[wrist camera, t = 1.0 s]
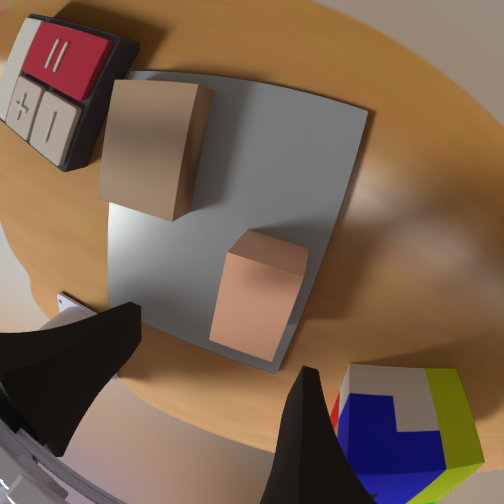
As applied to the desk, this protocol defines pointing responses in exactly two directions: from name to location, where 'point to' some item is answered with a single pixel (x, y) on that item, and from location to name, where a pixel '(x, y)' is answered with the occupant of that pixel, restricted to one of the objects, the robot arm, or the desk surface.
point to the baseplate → (237, 205)
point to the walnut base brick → (154, 146)
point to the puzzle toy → (406, 432)
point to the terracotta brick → (257, 293)
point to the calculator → (62, 86)
